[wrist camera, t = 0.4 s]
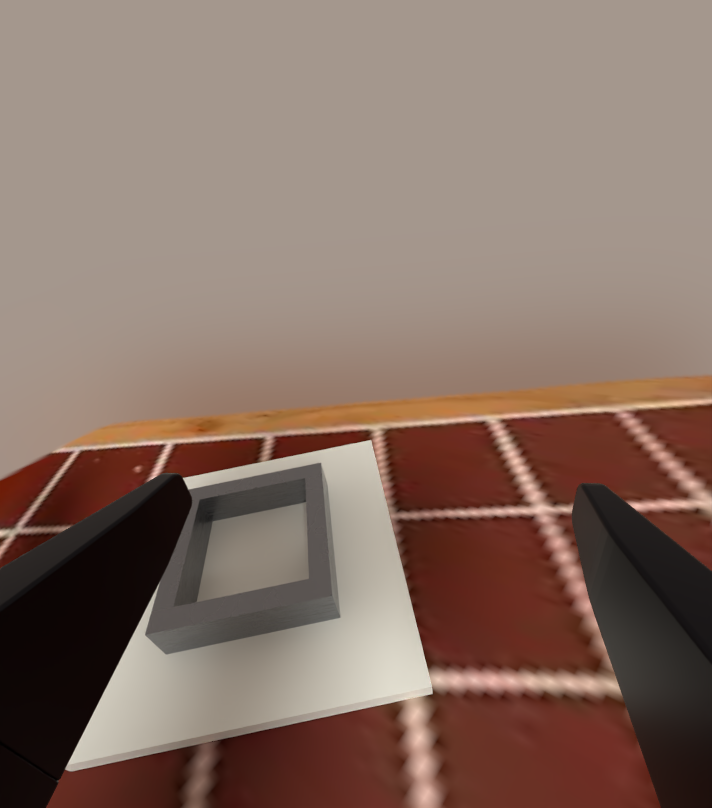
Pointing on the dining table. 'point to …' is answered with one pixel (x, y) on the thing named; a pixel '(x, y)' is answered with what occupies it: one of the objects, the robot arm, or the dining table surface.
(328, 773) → the dining table surface
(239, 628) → the collar
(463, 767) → the dining table surface
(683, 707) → the robot arm
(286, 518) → the mat
